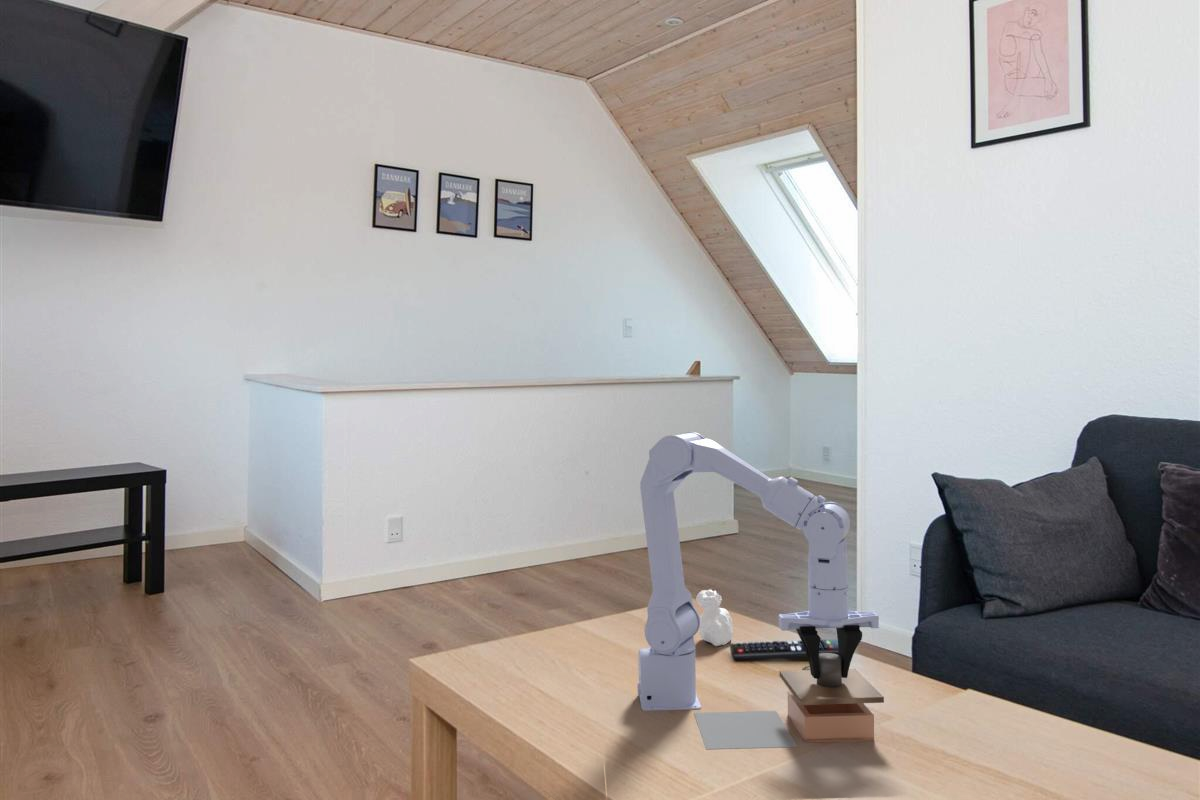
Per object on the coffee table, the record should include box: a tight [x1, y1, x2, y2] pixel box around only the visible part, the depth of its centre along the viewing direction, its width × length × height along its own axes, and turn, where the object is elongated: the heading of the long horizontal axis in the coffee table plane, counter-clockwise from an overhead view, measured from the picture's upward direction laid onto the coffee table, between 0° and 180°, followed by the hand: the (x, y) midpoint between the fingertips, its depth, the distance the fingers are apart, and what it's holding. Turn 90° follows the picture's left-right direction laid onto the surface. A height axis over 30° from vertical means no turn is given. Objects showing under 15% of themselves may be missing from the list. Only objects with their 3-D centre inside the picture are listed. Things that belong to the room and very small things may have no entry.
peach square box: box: [787, 690, 875, 743], centre depth 125 cm, size 10×10×4 cm
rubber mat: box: [693, 710, 798, 750], centre depth 125 cm, size 13×13×1 cm
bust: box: [695, 588, 734, 647], centre depth 169 cm, size 12×8×11 cm
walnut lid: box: [779, 652, 885, 705], centre depth 125 cm, size 12×12×5 cm
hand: (828, 676), depth 125 cm, fingers closed on walnut lid, 4 cm apart
